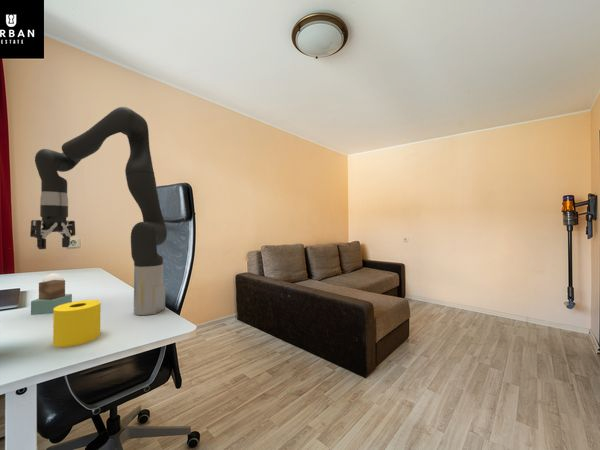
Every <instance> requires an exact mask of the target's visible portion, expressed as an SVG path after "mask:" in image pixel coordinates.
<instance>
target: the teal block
mask: <svg viewBox="0 0 600 450" xmlns="http://www.w3.org/2000/svg"><path fill="white" fill-rule="evenodd" d="M70 302H73V294H72V293H67V294H66V293H65V296H64V297H60V298H56V299H52V300H43V299H39V298H36V299H33V300H31V301H30V315H31V316H33V315H36V316H37V315H49V314H52V315H53V309H54V308H55V307H57V306H59V305H62V304H66V303H70Z"/></svg>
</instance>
